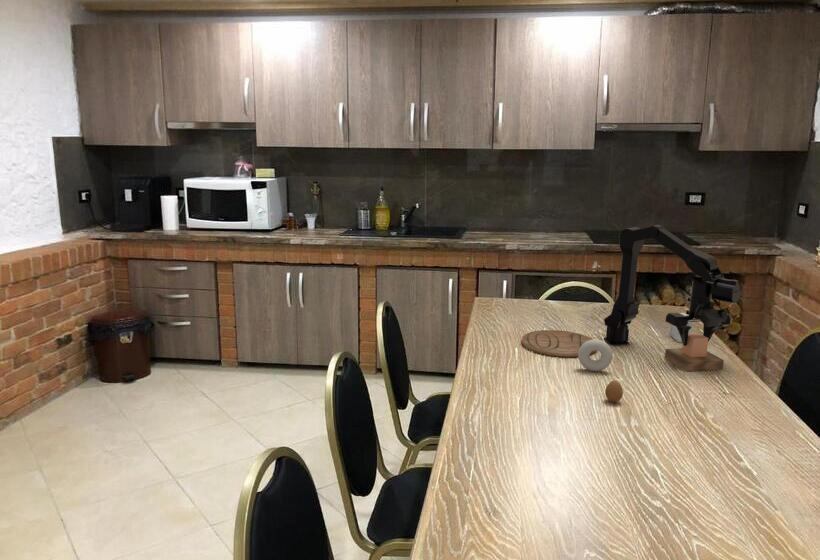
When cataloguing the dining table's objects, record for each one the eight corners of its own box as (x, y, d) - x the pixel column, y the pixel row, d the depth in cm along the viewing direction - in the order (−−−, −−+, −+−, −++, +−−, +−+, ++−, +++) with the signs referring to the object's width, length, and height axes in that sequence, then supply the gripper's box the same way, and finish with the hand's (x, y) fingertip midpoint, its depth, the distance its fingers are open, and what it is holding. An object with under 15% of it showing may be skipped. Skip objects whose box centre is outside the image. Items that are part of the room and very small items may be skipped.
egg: (600, 399, 170) (602, 378, 169) (614, 397, 172) (616, 376, 171) (611, 406, 166) (613, 384, 165) (625, 404, 168) (627, 382, 167)
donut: (577, 371, 191) (579, 339, 188) (576, 367, 194) (579, 336, 192) (611, 374, 188) (614, 342, 186) (610, 370, 192) (613, 339, 190)
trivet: (590, 336, 225) (590, 331, 225) (604, 361, 201) (604, 355, 200) (519, 333, 227) (519, 328, 227) (524, 357, 203) (524, 351, 203)
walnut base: (686, 371, 192) (687, 361, 191) (664, 357, 204) (665, 348, 203) (722, 369, 194) (723, 360, 193) (698, 356, 205) (699, 347, 205)
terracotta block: (691, 357, 195) (693, 338, 194) (681, 351, 200) (684, 333, 199) (706, 356, 196) (708, 338, 195) (696, 351, 201) (698, 333, 200)
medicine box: (690, 343, 219) (693, 318, 217) (677, 342, 219) (680, 318, 217) (681, 335, 226) (684, 312, 224) (669, 335, 226) (671, 312, 224)
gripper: (688, 304, 185) (682, 355, 188) (746, 302, 188) (739, 352, 191) (667, 295, 195) (662, 343, 199) (722, 293, 198) (715, 340, 202)
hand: (695, 345), depth 197 cm, fingers open, 7 cm apart
